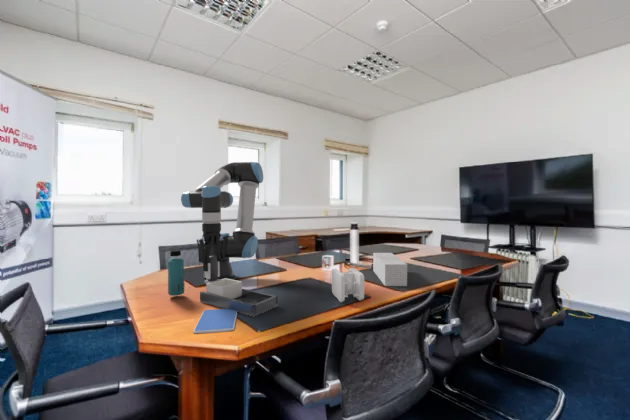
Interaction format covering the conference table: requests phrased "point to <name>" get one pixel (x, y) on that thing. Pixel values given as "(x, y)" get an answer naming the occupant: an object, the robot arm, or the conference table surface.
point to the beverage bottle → (175, 274)
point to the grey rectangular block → (390, 269)
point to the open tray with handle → (222, 283)
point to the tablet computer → (216, 321)
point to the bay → (242, 302)
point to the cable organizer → (347, 284)
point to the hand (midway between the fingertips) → (212, 277)
